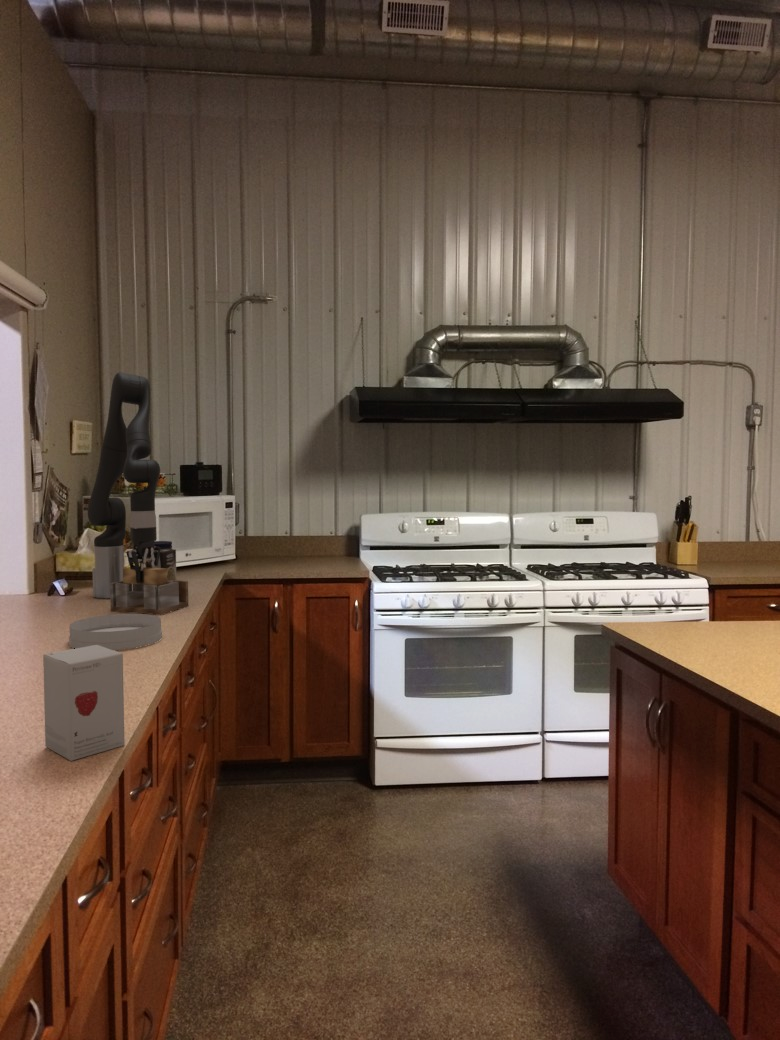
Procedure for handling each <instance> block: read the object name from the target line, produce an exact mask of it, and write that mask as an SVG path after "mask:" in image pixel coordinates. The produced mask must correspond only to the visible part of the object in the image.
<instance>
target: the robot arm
mask: <svg viewBox="0 0 780 1040" xmlns="http://www.w3.org/2000/svg"><path fill="white" fill-rule="evenodd" d="M123 403H125V404H131V405H137V406H138V410H137V412H136V414H135V416H134V417H133V418H132V419H131V421H130V422H129V424H128V426H126V423H125V420H124V418H123V409H122V408H123ZM108 406H109V407H108V417H107V421H106V426H105V432H104V437H103V441H102V443H101V444H102V445H101V449H100V450H101V451H100V457H99V463H98V467H97V468H98V469H97V472H96V476H95V477H96V478H95V482H94V485H93V488H92V492H91V493H90V498H89V502H88V506H87V519H88V521H89V523H90V524H91V525H92V526H97V527H102V526H104V527H106V528H105V530H104V531H103V532H102V533H100V534H99V535H97V536H95V538H94V539H93V540H94V541H93V547H94V548H93V550H94V568H92V570H91V571H92V594H93V595H92V597H93V598H98V599H110V583H114V582H118V581H123V568H125V557H124V556H125V552H124V551H125V548H124V547H125V546H124V545H125V544H124V540H125V538H126V524H127V523H126V521H127V519H126V518H127V517H126V516H127V511H126V506H125V503H124V501H123V500H122V499H121V498H119V497H111V493H112V490H113V487H114V485H115V484H116V482H117V481H118V480H119V479H120V478H121V476H122V475H123V478H124V480H125V481H126V482H127V483H130V484H147V485H146V487H145V488H143V489H140V490H135V491H133V492H131V493H130V495H129V496H130V497H129V498H130V499H129V500H130V516H129V527H130V528H129V530H130V532H129V533H130V541H131V542H132V543H133V546H132V549H131V550H126V556H127V561H128V564H129V567H130V569H133V570H135V571H136V582H137V583H144V571H143V568H144V567H149V568H154V567H155V566H157V565H158V561H159V556H160V550H161V548H160V547H156V546H155V545H154V541H158V540H157V533H158V532H157V515H156V501H155V499H156V490H157V485H158V483H159V479H160V475H161V467H160V464H159V462H158V461H157V460H154V459H146V458H148V457H149V456H151V453H152V444H151V443H152V442H151V435H150V418H151V417H150V413H151V412H150V411H151V385H150V381H149V379H148V378H147V377H144V376H141V375H136V374H131V373H126V372H117V373H116V374H114V377H113V380H112V384H111V391H110V397H109V405H108ZM154 558H155V559H154ZM154 560H155V562H154Z"/></svg>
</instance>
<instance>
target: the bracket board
mask: <svg viewBox="0 0 780 1040" xmlns="http://www.w3.org/2000/svg"><path fill="white" fill-rule="evenodd" d="M109 599H110V612H115V611H123V612H122V613H129V612H137V613H136V614H142V613H153V614H152V615H156V614H163V615H165V614H164V613H166V614H168V613H167V612H169V613H171V612H170V611H172V612H174V610H175V611H178V610H177V609H179V610H181V609H180V608H182V609H185V608H187V606H188V607H189V581H188V580H177V579H176V580H168V583H166V584H162V585H149V584H131V583H123V581H118V582H114V583H110V598H109ZM184 607H185V608H184Z"/></svg>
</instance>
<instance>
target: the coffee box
mask: <svg viewBox="0 0 780 1040" xmlns="http://www.w3.org/2000/svg"><path fill="white" fill-rule="evenodd" d="M154 559H155V558H154ZM154 562H155V560H154ZM154 568H167V580H177V550H176V549H173V548H172V549H164V550H160V556H159V561H158V565H157V566H155V567H154Z"/></svg>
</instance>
